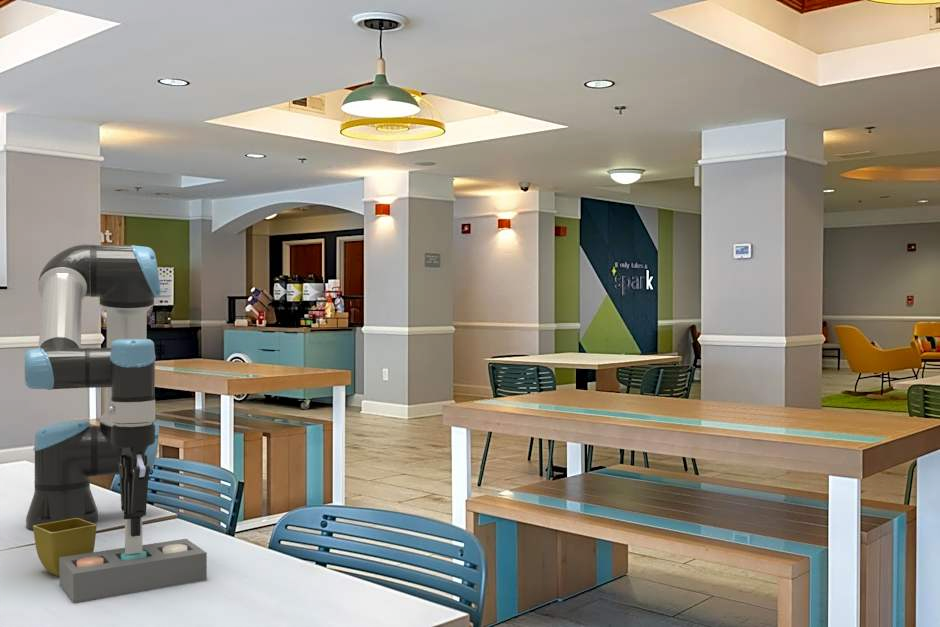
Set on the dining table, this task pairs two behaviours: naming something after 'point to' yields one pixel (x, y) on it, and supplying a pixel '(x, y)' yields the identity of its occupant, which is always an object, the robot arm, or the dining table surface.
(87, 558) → the terracotta button
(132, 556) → the teal button
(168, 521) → the dining table surface
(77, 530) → the flower pot
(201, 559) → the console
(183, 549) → the cream button
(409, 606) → the dining table surface
